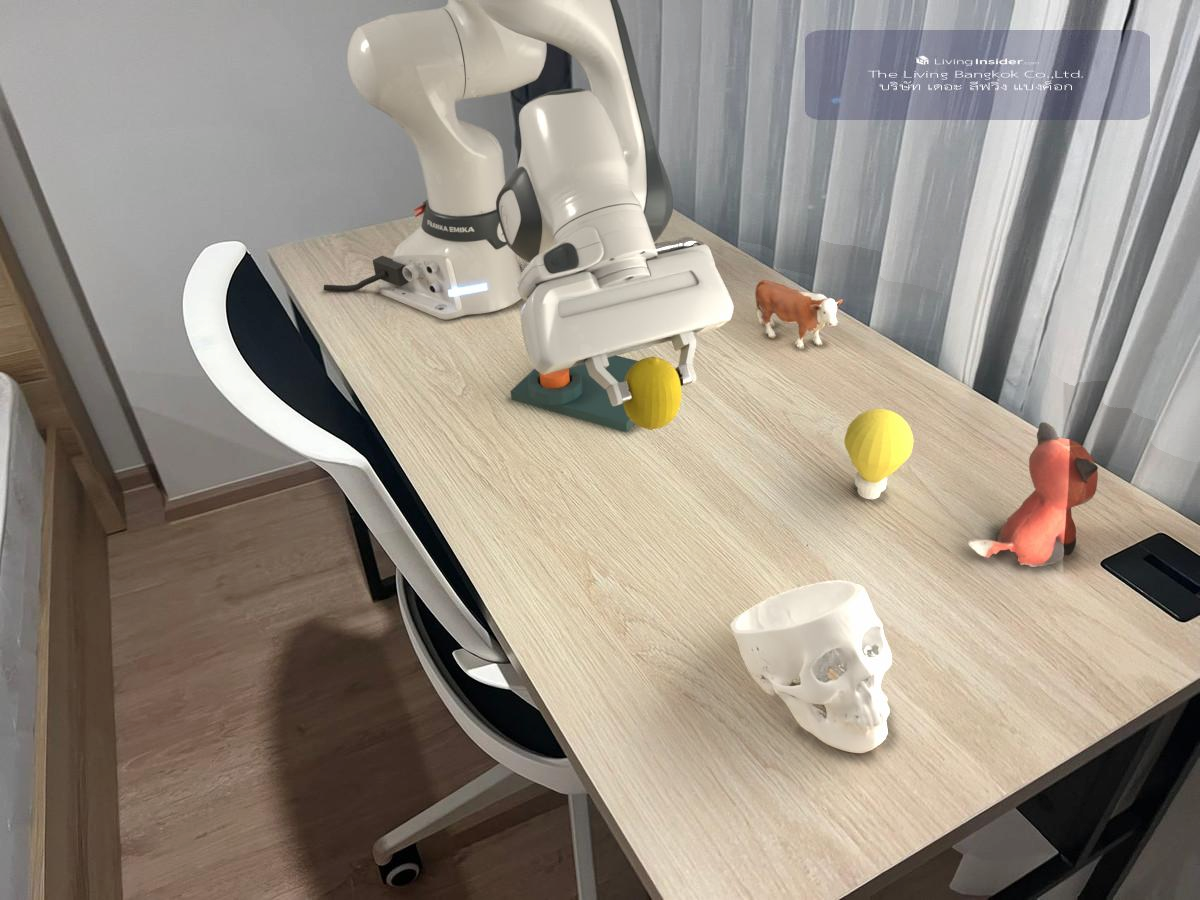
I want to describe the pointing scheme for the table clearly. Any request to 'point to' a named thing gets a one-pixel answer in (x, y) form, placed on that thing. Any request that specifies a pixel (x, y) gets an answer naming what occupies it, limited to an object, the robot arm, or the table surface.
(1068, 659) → the table surface
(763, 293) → the bull figurine
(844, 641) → the skull bowl
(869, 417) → the light bulb
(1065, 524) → the stuffed fox
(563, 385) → the button
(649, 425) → the lemon
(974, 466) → the table surface
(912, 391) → the table surface
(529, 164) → the robot arm
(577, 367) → the scale
